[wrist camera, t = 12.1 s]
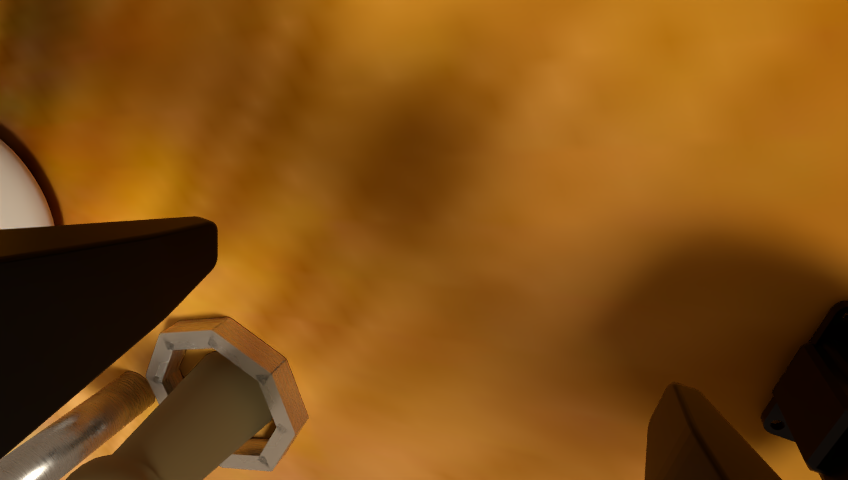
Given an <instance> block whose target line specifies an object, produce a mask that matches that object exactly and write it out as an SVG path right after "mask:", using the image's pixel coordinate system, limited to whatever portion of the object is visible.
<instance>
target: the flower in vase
mask: <svg viewBox="0 0 848 480" xmlns="http://www.w3.org/2000/svg"><path fill="white" fill-rule="evenodd" d="M45 226H54V221H53V218H52V215H51V211H50V209H49V206H48V203H47V201H46V199H45V196H44V194H43V192H42V190H41V188H40V187H39V185H38V183H37V181H36V180H35V178H34V177H33V175H32V174H31V172H30V171H29V169H28V168H27V167H26V165H25V164H24V163H23V162H22V160H21V159H20V158H19V157H18V156H17V155H16V153H15V152H14V151H13V150H12V149H11V148H10V147H9V146H7V145H6V144H5V143H4V142H3V141H2V140H0V229H15V228H30V227H45Z"/></svg>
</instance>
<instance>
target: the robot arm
mask: <svg viewBox="0 0 848 480" xmlns="http://www.w3.org/2000/svg"><path fill="white" fill-rule="evenodd" d="M217 257H218V230H217V226H216V224H215V223H214V222H212V221H209V220H206V219H204V218H201V217H195V216H194V217H179V218H164V219H149V220H134V221H119V222H104V223H89V224H75V225H60V226H45V227H30V228H15V229H0V459H2V458H3V457H4V456H5V455H6V454H7V453H9V452H10V451H11V450H12V449H13V448H14V447H16V446H17V445H18V444H19V443H20V442H21V441H23V440H24V439H25V438H26V437H27V436H28V435H30V434H31V433H32V432H33V431H34V430H35V429H37V428H38V427H39V426H40V425H41V424H43V423H44V422H45V421H46V420H47V419H48V418H50V417H51V416H52V415H53V414H54V413H55V412H57V411H58V410H59V409H60V408H61V407H62V406H64V405H65V404H66V403H67V402H68V401H69V400H71V399H72V398H73V397H74V396H75V395H76V394H78V393H79V392H80V391H81V390H82V389H84V388H85V387H86V386H87V385H88V384H89V383H91V382H92V381H93V380H94V379H95V378H96V377H98V376H99V375H100V374H101V373H102V372H103V371H105V370H106V369H107V368H108V367H109V366H110V365H112V364H113V363H114V362H115V361H116V360H117V359H119V358H120V357H121V356H122V355H123V354H125V353H126V352H127V351H128V350H129V349H130V348H132V347H133V346H134V345H135V344H136V343H137V342H139V341H140V340H141V339H142V338H143V337H144V336H146V335H147V334H148V333H149V332H150V331H151V330H153V329H154V328H155V327H156V326H157V325H158V324H159V323H161V322H162V321H163V320H164V319H165V318H166V317H167V316H168V315H169V314H170V313H171V312H172V311H173V310H174V309H175V308H176V307H177V306H178V305H179V304H180V303H181V302H182V301H183V300H184V299H185V298H186V297H187V295H188V294H189V293H190V292H191V291H192V290H193V289H194V288H195V287H196V286H197V285H198V284H199V283H200V282H201V281H202V280H203V279H204V278H205V277H206V276H207V275H208V274H209V273H210V272H211V271H212V269H213V268H214V267H215V265H216V262H217ZM847 312H848V301H841V302H839V303H837V304H835V305H834V306H833V307H832V308H831V310H830V311H829V313H828V314H827V316H826V317H825V319H824V320H823V322H822V323H821V325H820V326H819V328H818V330H817V331H816V333H815V334H814V336H813V337H812V339H811V340H810V342H809V343H807V344H805V345H803V346H801V348H800V349H799V351H798V352H797V354H796V355H795V357H794V358H793V360H792V362H791V363H790V365H789V366H788V368H787V369H786V371H785V372H784V374H783V375H782V377H781V378H780V380H779V382H778V383H777V385H776V386H775V388H774V389H773V391H772V393H773V395H774V396H773V398H772V400H771V401H770V403H769V404H768V406H767V407H766V409H765V410H764V412H763V413H762V415H761V421H762V424H763V426H764V428H765V429H766V431H768V432H769V433H771V434H774V435H777V436H780V437H782V438H785V439H788V440H791V441H794V442H796V444H797V446H798V448H799V450H800V452H801V455H802V457H803V459H804V461H805V463H806V465H807V467H808V468H809V469H810V470H811V471H814V472H817V473H819V475H820V477H821V479H822V480H848V318H843V315H844V314H845V313H847ZM775 420H780V421H781V422H779V423H776V424H775V423H771V422H772V421H775ZM645 480H782V479H781V478H780V477H779V476H778V475H777V474H776V473H775V472H774V471H773V469H772V468H771V467H770V466H769V465H768V464H767V463H766V462H765V461H764V460H763V459H762V458H761V457H760V456H759V454H758V453H757V452H756V451H755V450H754V449H753V448H752V447H751V446H750V445H749V444H748V443H747V442H746V441H745V440H744V438H743V437H742V436H741V435H740V434H739V433H738V432H737V431H736V430H735V429H734V428H733V427H732V426H731V425H730V423H729V422H728V421H727V420H726V419H725V418H724V417H723V416H722V415H721V414H720V413H719V412H718V411H717V410H716V409H715V407H714V406H713V405H712V404H711V403H710V402H709V401H708V400H707V399H706V398H705V397H704V396H703V395H702V394H701V392H699V391H698V390H696V389H694V388H691V387H688V386H685V385H682V384H679V383H675V382H673V383H671V384H670V385H669V386H668V387H667V388H666V390H665V392H664V394H663V396H662V398H661V399H660V401H659V403H658V405H657V407H656V409H655V411H654V413H653V415H652V417H651V419H650V422H649V426H648V433H647V449H646V466H645Z"/></svg>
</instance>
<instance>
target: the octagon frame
mask: <svg viewBox="0 0 848 480" xmlns="http://www.w3.org/2000/svg"><path fill="white" fill-rule="evenodd" d="M205 348H214V349H215V350H216V351H218V352H219V353H220V354H222V355H223V356H225V357H226V358H227V359H229V360H230V361H231V362H233V363H234V364H235V365H237V366H238V367H239V368H241V369H242V370H243V371H245V372H246V373H247V374H249V375H250V376H252V377H253V378H254V379H256V380H257V381H258V382H259V385H260V387H261V390H262V392H263V395H264V397H265V400H266V402H267V405H268V407H269V410H270V412H271V415H272V417H273V419H274V422H275V424H276V427H277V428H276V429H275V431H274V433H273V434H272V436H271V438H270V439H257V438H250V439H249V440H248V441H247V442H246V443H244V444H243V445H242V446H241V447H240V448H239V449H237V450H236V451H235V452H234V453H233V454H232V455H230V456H229V457H228V458H227V459H226V460H225V461H224V462H222V463H221V464H220V465H219V466H220V467H223V468H235V469H248V470H260V471H273V469H274V468H275V467H276V465H277V464H278V463H279V461H280V460H281V459H282V458H283V456H284V455H285V454H286V452H287V451H288V449H289V447H290V446H291V444H292V443H293V441H294V440H295V438H296V437H297V435H298V433H299V432H300V430H301V429H302V427H303V426H304V424H305V423H306V421H307V419H308V415H307V412H306V409H305V407H304V404H303V401H302V399H301V396H300V394H299V391H298V388H297V386H296V383H295V380H294V378H293V375H292V372H291V370H290V367H289V365H288V362H287V360H285V359H286V358H284V357H283V356H282V355H280V354H279V353H278V352H276V351H275V350H274V349H272V348H271V347H269V346H268V345H267V344H265V343H264V342H263V341H261V340H260V339H259V338H257V337H256V336H254V335H253V334H252V333H250V332H249V331H248V330H246V329H245V328H244V327H242V326H241V325H239V324H238V323H237V322H235V321H234V320H233V319H231V318H229V317H225V318H211V319H198V320H185V321H178V322H177V323H175V324H174V325H172V326H171V327H169V328H168V329H166V330H165V331H163V332H161V333H160V334H159V337H158V340H157V343H156V346H155V349H154V352H153V355H152V358H151V361H150V364H149V367H148V370H147V373H146V378H147V380H148V381H147V380H146V379H145V378H143V377H142V376H141V375H139V374H137V373H135V372H126V373H124V374H123V375H121V376H120V377H118V378H117V379H115V380H114V381H113V382H111V383H110V384H108V385H107V386H105V387H104V388H102V389H101V390H100V391H98V392H97V393H95V394H94V395H92V396H91V397H90V398H88V399H87V400H85V401H84V402H82V403H81V404H79V405H78V406H77V407H75V408H74V409H72V410H71V411H69V412H68V413H67V414H65V415H64V416H62V417H61V418H59V419H58V420H57V421H55V422H54V423H52V424H51V425H49V426H48V427H46V428H45V429H44V430H42V431H41V432H39V433H38V434H36V435H35V436H34V437H32V438H31V439H29V440H28V441H26V442H25V443H24V444H22V445H21V446H19V447H18V448H16V449H15V450H13V451H12V452H11V453H9V454H8V455H6V456H5V457H3V458H2V459H1V460H0V480H59V479H60V478H62V477H63V476H64V475H65V474H67V473H68V472H69V471H70V470H72V469H73V468H74V467H75V466H77V465H78V464H79V463H80V462H81V461H83V460H84V459H85V458H86V457H88V456H89V455H90V454H91V453H93V452H94V451H95V450H96V449H98V448H99V447H100V446H101V445H103V444H104V443H105V442H106V441H107V440H109V439H110V438H111V437H112V436H114V435H115V434H116V433H117V432H119V431H120V430H121V429H122V428H124V427H125V426H126V425H127V424H129V423H130V422H131V421H132V420H133V419H135V418H136V417H137V416H138V415H140V414H141V413H142V412H143V411H145V410H146V409H147V408H148V407H150V406H151V405H152V404H153V403H154V401H155V397H156V399H157V401H158V403H159V405H160V403H161V402H162V401H163V400H164V399H165V398H166V397H167V396H168V395H169V394H170V393H171V392H172V391H173V390H174V389H175V388H176V387H177V385H178V384H179V383H180V382H181V381H182V380H183V379H184V378H183V376H182V374H181V372H180V370H179V367H180V365H181V362H182V360H183V357H184V354H185V352H186V349H205ZM148 382H149V383H148Z"/></svg>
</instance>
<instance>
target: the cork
mask: <svg viewBox="0 0 848 480" xmlns="http://www.w3.org/2000/svg"><path fill="white" fill-rule="evenodd" d="M272 418H273V417H272V415H271V412H270V410H269V407H268V405H267V402H266V400H265V397H264V395H263V392H262V390H261V387H260V385H259V382H258V381H257V380H256V379H254V378H253V377H252V376H250V375H249V374H247V373H246V372H245V371H243V370H242V369H241V368H239V367H238V366H237V365H235V364H234V363H233V362H231V361H230V360H229V359H227V358H226V357H225V356H223V355H222V354H220V353H219V352H218V351H215V352H212V353H210V354H207V355H206V356H205V357H204V358H203V359H202V360H201V361H200V362H199V363H198V364H197V365H196V366H195V368H194V369H193V370H192V371H191V372H190V373H189V374H188V375H187V376H186V377H185V378H184V379H183V380H182V381H181V382H180V383H179V384H178V385H177V387H176V388H175V389H174V390H173V391H172V392H171V393H170V394H169V395H168V396H167V397H166V398H165V399H164V400H163V401H162V402H161V403H160V405H159V406H158V407H157V408H156V409H155V410H154V411H153V412H152V413H151V414H150V415H149V416H148V417H147V418H146V419H145V420H144V421H143V422H142V424H141V425H140V426H139V427H138V428H137V429H136V430H135V431H134V432H133V433H132V434H131V435H130V436H129V437H128V438H127V439H126V440H125V442H124V443H123V444H122V445H121V446H120V447H119V448H118V449H117V450H116V451H115V452H114V453H113V454H112V455H107V456H102V457H98V458H94V459H93V460H91V461H89V462H87V463H85V464H83V465H81V466H80V467H79V468H78V469H76V470H75V471H74V472H73V473H71V474H70V475H69V477H68V478H67V479H66V480H203V479H204V478H205V477H206V476H207V475H208V474H210V473H211V472H212V471H213V470H214V469H215V468H217V467H218V466H219V465H220V464H221V463H222V462H224V461H225V460H226V459H227V458H228V457H229V456H230V455H232V454H233V453H234V452H235V451H236V450H237V449H239V448H240V447H241V446H242V445H243V444H244V443H246V442H247V441H248V440H249V439H250V438H251V437H252V436H254V435H255V434H256V433H257V432H258V431H259V430H261V429H262V428H263V427H264V426H265V425H266V424H268V423H269V422H270V421H271V420H272Z"/></svg>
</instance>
